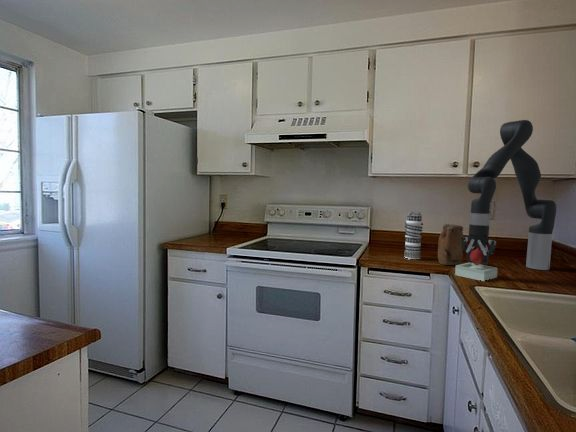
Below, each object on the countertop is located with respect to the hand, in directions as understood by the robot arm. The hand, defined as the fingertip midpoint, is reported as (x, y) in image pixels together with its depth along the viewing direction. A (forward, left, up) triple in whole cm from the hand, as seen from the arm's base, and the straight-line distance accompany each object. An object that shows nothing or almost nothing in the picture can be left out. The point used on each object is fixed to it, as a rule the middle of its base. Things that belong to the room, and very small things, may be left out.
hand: (476, 262), depth 147 cm
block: (-13, -19, -6) cm, 24 cm away
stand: (0, 0, -6) cm, 6 cm away
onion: (0, 0, -2) cm, 2 cm away
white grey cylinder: (-10, -38, -6) cm, 40 cm away
